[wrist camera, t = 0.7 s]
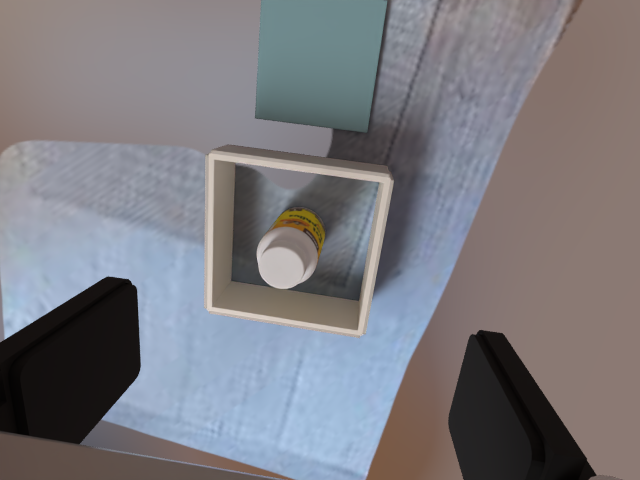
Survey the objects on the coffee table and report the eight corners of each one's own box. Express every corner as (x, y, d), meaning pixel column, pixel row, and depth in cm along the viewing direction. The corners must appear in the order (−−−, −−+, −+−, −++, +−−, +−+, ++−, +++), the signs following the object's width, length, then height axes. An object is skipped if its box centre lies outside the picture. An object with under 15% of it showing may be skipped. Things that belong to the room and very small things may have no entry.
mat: (263, -11, 34) (261, -13, 33) (387, 2, 33) (387, 0, 33) (256, 118, 38) (255, 118, 37) (367, 132, 37) (367, 132, 37)
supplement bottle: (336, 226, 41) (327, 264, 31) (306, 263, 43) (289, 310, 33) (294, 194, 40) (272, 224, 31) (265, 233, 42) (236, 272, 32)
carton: (228, 142, 39) (205, 149, 33) (390, 163, 38) (395, 174, 32) (224, 285, 45) (204, 312, 39) (364, 308, 44) (364, 338, 38)
